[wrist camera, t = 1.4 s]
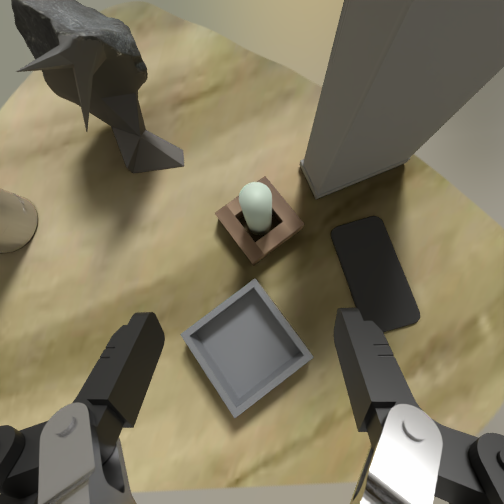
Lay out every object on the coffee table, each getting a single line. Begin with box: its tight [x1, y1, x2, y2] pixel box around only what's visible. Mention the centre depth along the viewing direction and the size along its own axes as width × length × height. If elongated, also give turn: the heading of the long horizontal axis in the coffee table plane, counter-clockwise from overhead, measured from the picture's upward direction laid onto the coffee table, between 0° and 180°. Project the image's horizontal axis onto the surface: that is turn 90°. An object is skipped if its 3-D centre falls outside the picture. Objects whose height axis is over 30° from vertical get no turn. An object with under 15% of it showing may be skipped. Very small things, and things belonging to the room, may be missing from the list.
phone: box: [331, 216, 420, 332], centre depth 33 cm, size 7×1×15 cm
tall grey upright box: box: [300, 0, 504, 199], centre depth 24 cm, size 14×6×25 cm, turn 111°
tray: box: [180, 279, 313, 418], centre depth 31 cm, size 12×12×4 cm
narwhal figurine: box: [11, 0, 184, 173], centre depth 31 cm, size 14×15×18 cm
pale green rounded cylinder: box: [239, 182, 272, 235], centre depth 31 cm, size 4×4×10 cm
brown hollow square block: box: [215, 176, 304, 265], centre depth 34 cm, size 9×9×2 cm
